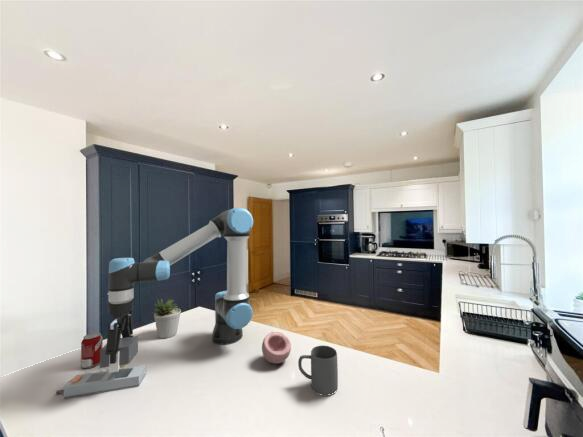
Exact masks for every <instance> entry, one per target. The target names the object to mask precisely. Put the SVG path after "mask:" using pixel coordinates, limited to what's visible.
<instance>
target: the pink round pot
mask: <svg viewBox="0 0 583 437" xmlns="http://www.w3.org/2000/svg"><path fill="white" fill-rule="evenodd" d="M291 350H292V343H291V341H290V339H289V338H288V336H286V335H285V334H284V333H283V332H278V331H272V332H269V333H267V334H266V335H265V337H264V338H263V340H262V343H261V352H262V355H263V357H264V358H265V360H266V361H268V362H269V363H270V364H275V365H276V364H277V365H278V364H281V363H283V362H284V361H286V360H287V359H288V357H289V355H291Z"/></svg>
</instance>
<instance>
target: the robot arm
mask: <svg viewBox="0 0 583 437" xmlns="http://www.w3.org/2000/svg"><path fill="white" fill-rule="evenodd" d="M253 226H254V218H253V216H252V213H251V212H250V211H249V210H248V209H246V208H243V207H233V208H230V209H226V210H224V211H223V212H221V213H220V214H218V215H217V216H216V217H214V218H213V219H211V220H209V223H208V224H207V225H204V226H203V227H201V228H199V229H197V230H196V231H194V232H192V233H190V234H189V235H188V236H185V237H184V238H182V239H180V240H179V241H178V240H177V242H175V243H173V244H171V245H169V246H167V247H166V248H165V249H163V250H160V251H159V252H158V253H156V254H154V255H152V256H149V257H147V258H145V259H144V261H142V262H135V259H134V258H133V257H118V258H113V259H111V260H110V261H109V265H108V272H107V273H108V292H107V294H106V295H108V299H107V301H108V305H107V314H108V315H110V316H113V317H112V321H111V322H110V323H108V324H107V338H106V344H107V345H106V344H105V345H106V355H109V367H108V370H109V373H112V372H118V371H119V369H120V365H119V351H118V348H119V343H120V338H124V337H133V336H134V335H133V334H134V329H133V328H134V327H133V310H134V296H135V294H134V292H135V290H134V289H135V288H134V285H135V284H138V283H146V282H154V281H155V282H156V281H158V282H160V281H162V280H163V281H164V280H168V279H169V278H170V277H171V276H170V274H171V267H170V266H172V265H173V264H175V263H177V262H178V261H180V260H182V259H183V258H186V256H188V255H189V254H191V253H193V252H194V251H196V250H197V249H200V248H201V247H203V246H204V245H205V246H206V244H208V243H209V242H211V241H213V240H215V239H216V238H221V237H223V238H224V239H225V241H227V244H226V245H227V253H226V254H227V255H226V259H227V260H226V290H223V291H219V292H217V293H216V294H215V295H214V297H215V298H214V301H215V302H214V307H215V308H214V311H215V312H214V314H215V318H214V319H215V322H214V327H213V330H212V333H211V342H213V343H214V344H217V345H229V344H233V343H236V342H238V341H240V340H241V339H242V338H243V336H244V334H243V333H244V332H243V328H245V327H246V326H248V325H249V324H250V322H251V321H252V318H253V315H254V313H253V308H252V306H251V305H250V294H249V293H248V292H247V240H248V239H249V238H250V236H251V235H250V231H251V230H252V228H253Z"/></svg>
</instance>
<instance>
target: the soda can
mask: <svg viewBox="0 0 583 437" xmlns="http://www.w3.org/2000/svg"><path fill="white" fill-rule="evenodd" d="M82 338H83V339H82V340H81V343H80V345H81V346H80V349H81V351H80V367H81V368H83V369H91V368H95V367H96V366H98V365H100V350H101V349H102V348H103V347H104V346H103V344H104V343H103V340H104V339H103V336H102V334H101V332H100V331H99V332H91V333H88V334H86V335H84V336H83V337H82Z"/></svg>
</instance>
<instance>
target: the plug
mask: <svg viewBox="0 0 583 437" xmlns="http://www.w3.org/2000/svg"><path fill="white" fill-rule="evenodd" d="M106 345H107V343H106V344H105V345H104V346H103V348H102V349H101V350H100V363H99V368H100V369H102V368H109V355H106ZM118 351H119V369H122V368H126V365H129V364H130V363H131V362H132V360H133V359H134V358H135V356H136V355H137V354H138V352H139V336H138V335H136V336H135V335H133V337H124V338H122V337H121V338H120V343H119V348H118Z"/></svg>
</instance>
